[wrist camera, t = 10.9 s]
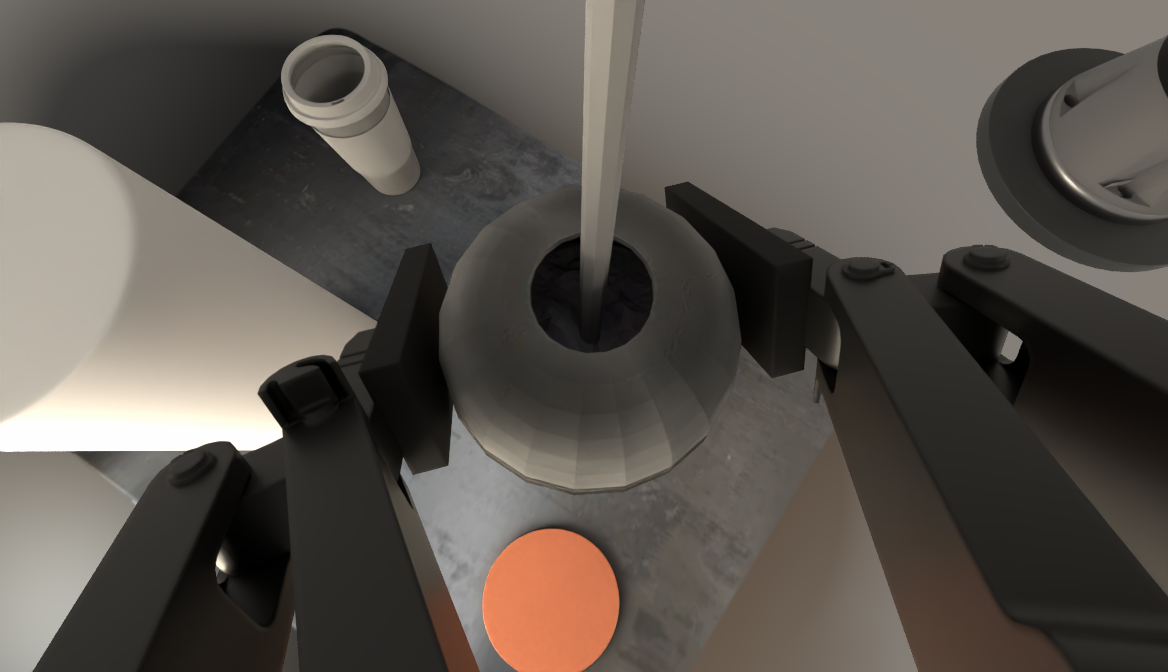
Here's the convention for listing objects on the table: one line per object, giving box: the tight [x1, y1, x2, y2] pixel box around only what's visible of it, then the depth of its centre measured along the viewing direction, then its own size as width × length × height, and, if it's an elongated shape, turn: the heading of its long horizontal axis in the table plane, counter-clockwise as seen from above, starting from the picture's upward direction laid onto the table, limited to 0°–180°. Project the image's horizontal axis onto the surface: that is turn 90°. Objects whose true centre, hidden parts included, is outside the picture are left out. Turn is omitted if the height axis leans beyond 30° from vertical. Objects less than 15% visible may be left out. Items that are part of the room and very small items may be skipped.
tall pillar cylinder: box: [0, 123, 377, 451], centre depth 27 cm, size 11×11×25 cm
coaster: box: [483, 528, 619, 672], centre depth 35 cm, size 10×10×1 cm
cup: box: [281, 35, 420, 195], centre depth 37 cm, size 7×7×12 cm
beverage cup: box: [439, 0, 742, 495], centre depth 13 cm, size 7×7×20 cm
